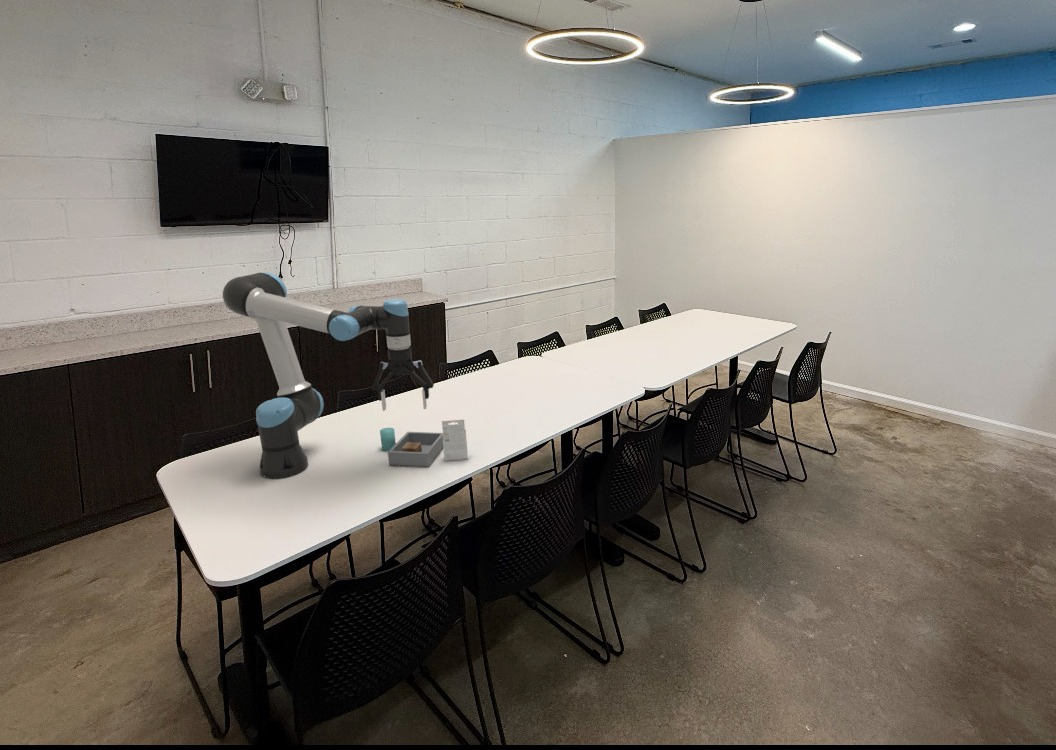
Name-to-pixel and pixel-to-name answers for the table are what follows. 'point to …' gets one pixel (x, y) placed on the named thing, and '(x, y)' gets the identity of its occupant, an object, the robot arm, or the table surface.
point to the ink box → (454, 440)
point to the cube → (412, 447)
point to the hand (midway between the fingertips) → (404, 408)
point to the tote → (430, 451)
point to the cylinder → (387, 438)
